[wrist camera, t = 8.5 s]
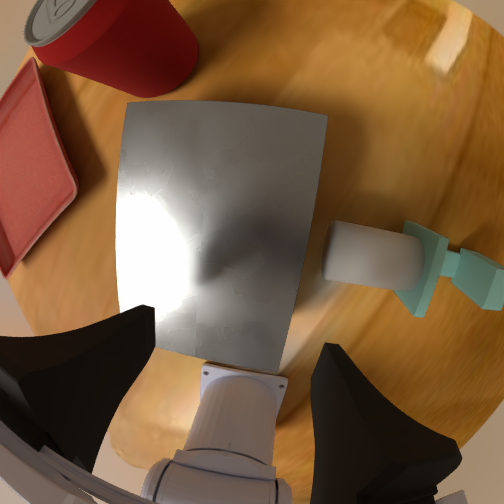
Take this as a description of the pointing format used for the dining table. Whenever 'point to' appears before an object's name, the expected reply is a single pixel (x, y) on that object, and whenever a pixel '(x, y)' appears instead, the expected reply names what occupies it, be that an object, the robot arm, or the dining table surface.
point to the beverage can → (115, 42)
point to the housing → (216, 223)
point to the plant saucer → (30, 167)
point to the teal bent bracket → (409, 264)
